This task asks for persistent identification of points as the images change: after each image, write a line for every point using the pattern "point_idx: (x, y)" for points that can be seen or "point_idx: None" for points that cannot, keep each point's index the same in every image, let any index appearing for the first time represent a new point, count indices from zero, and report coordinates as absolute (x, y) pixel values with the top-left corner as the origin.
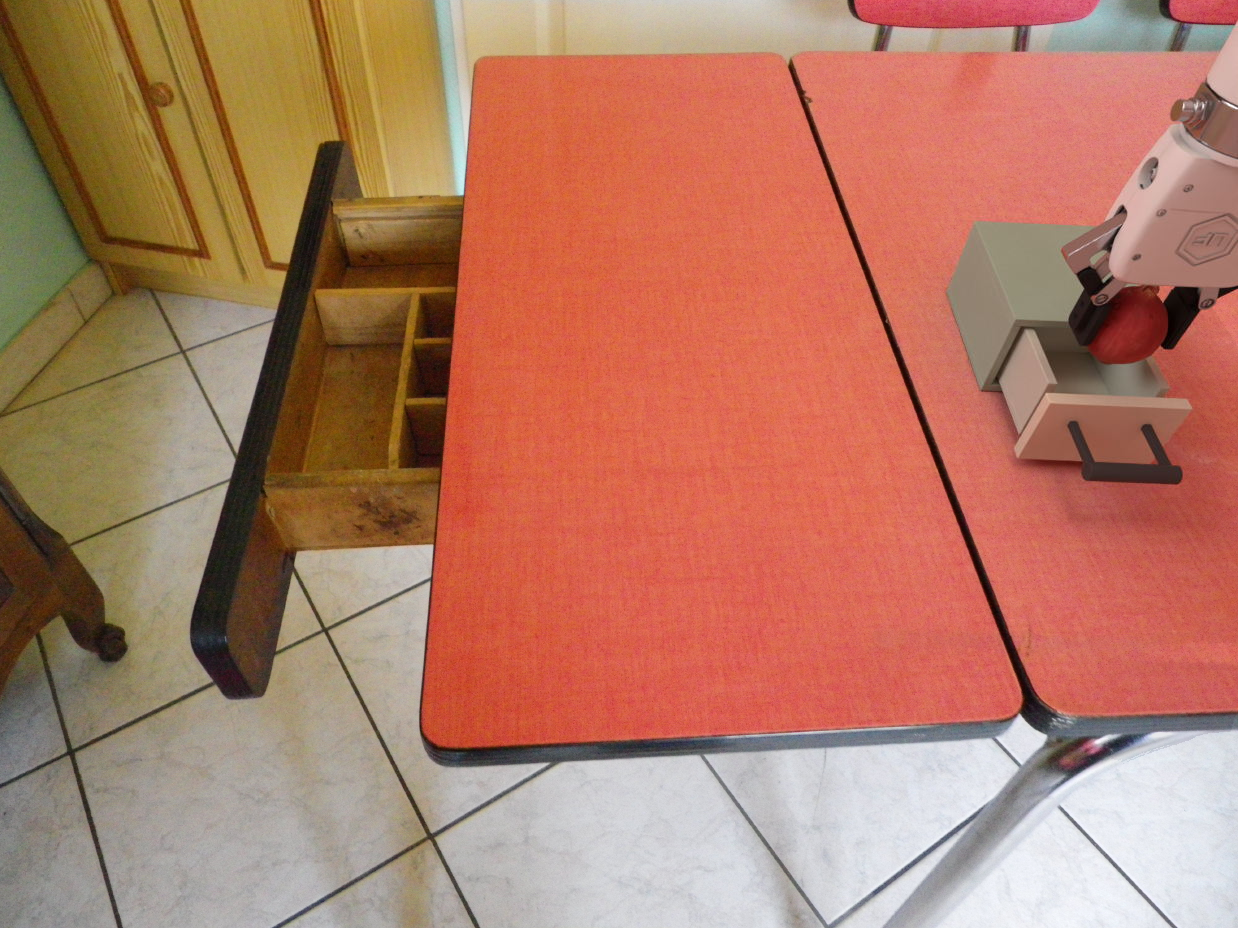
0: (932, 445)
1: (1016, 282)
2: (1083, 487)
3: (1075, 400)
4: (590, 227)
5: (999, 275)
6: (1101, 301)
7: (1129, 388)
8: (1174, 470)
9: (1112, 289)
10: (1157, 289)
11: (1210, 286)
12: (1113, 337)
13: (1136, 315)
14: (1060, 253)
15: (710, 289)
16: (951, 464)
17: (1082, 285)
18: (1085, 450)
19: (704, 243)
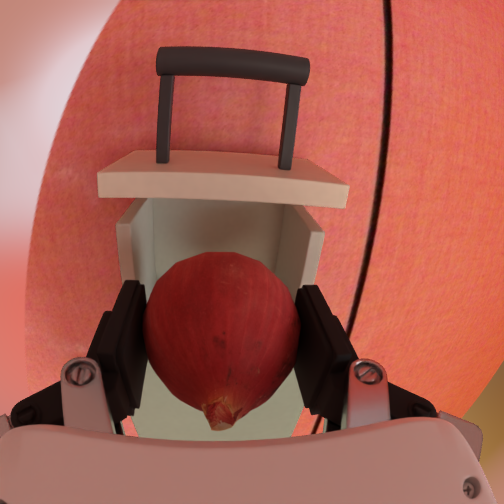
0: (378, 193)
1: (287, 399)
2: (228, 119)
3: (305, 188)
4: (462, 383)
5: (302, 405)
6: (361, 368)
7: (146, 253)
8: (169, 55)
9: (368, 399)
10: (216, 416)
11: (113, 443)
12: (281, 295)
13: (258, 345)
14: (208, 433)
15: (441, 355)
16: (370, 165)
17: (412, 394)
18: (295, 106)
19: (419, 390)
